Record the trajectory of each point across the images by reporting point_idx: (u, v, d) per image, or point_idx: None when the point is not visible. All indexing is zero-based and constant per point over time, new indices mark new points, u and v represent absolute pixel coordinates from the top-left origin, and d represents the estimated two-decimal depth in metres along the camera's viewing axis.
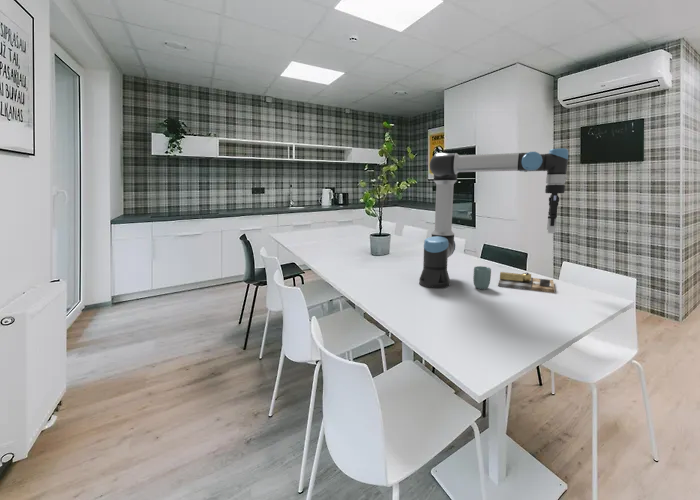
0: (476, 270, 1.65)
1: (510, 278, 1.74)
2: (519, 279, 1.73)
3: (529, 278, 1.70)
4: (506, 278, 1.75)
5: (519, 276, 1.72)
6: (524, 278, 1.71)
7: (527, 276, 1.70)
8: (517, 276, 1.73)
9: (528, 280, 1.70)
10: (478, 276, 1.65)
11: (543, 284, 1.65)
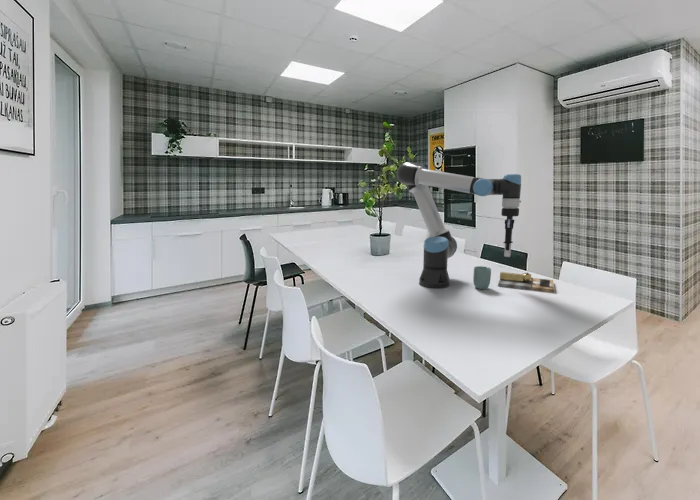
0: (476, 270, 1.65)
1: (510, 278, 1.74)
2: (519, 279, 1.73)
3: (529, 278, 1.70)
4: (506, 278, 1.75)
5: (519, 276, 1.72)
6: (524, 278, 1.71)
7: (527, 276, 1.70)
8: (517, 276, 1.73)
9: (528, 280, 1.70)
10: (478, 276, 1.65)
11: (543, 284, 1.65)
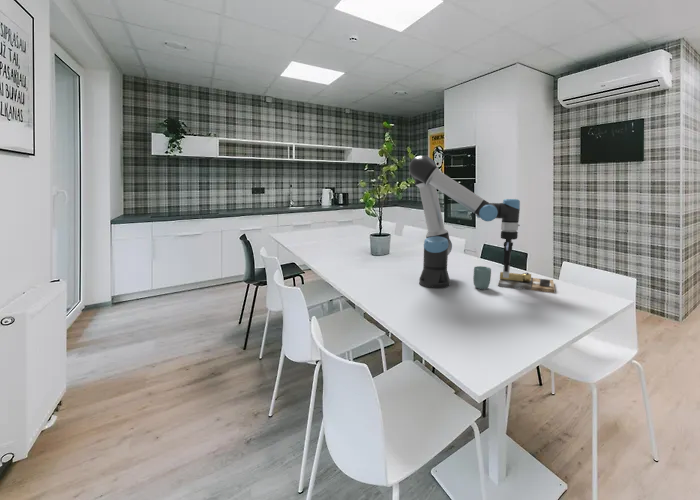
0: (476, 270, 1.65)
1: (510, 278, 1.74)
2: (519, 279, 1.73)
3: (529, 278, 1.70)
4: (506, 278, 1.75)
5: (519, 276, 1.72)
6: (524, 278, 1.71)
7: (527, 276, 1.70)
8: (517, 276, 1.73)
9: (528, 280, 1.70)
10: (478, 276, 1.65)
11: (543, 284, 1.65)
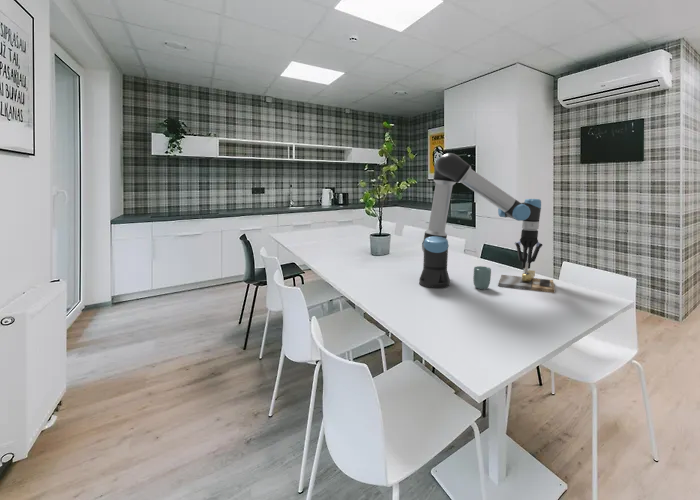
0: (476, 270, 1.65)
1: None
2: None
3: (522, 277, 1.72)
4: None
5: None
6: None
7: (522, 275, 1.73)
8: None
9: (522, 279, 1.73)
10: (478, 276, 1.65)
11: (543, 284, 1.65)
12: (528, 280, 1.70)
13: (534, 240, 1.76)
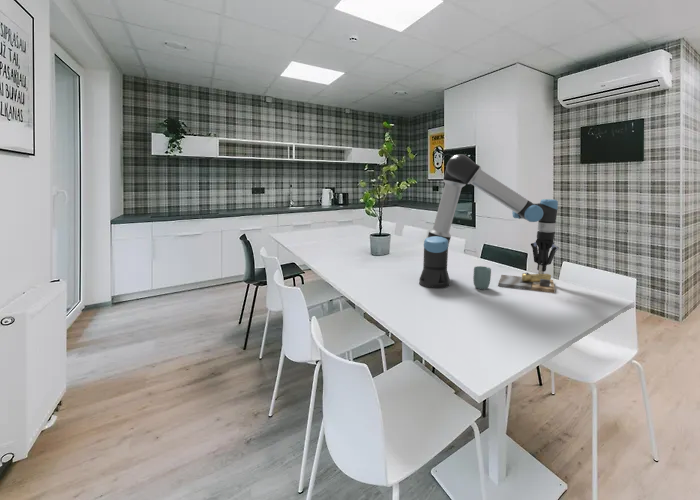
0: (476, 270, 1.65)
1: None
2: None
3: None
4: None
5: None
6: None
7: None
8: None
9: None
10: (478, 276, 1.65)
11: (543, 284, 1.65)
12: (525, 280, 1.71)
13: (548, 242, 1.70)
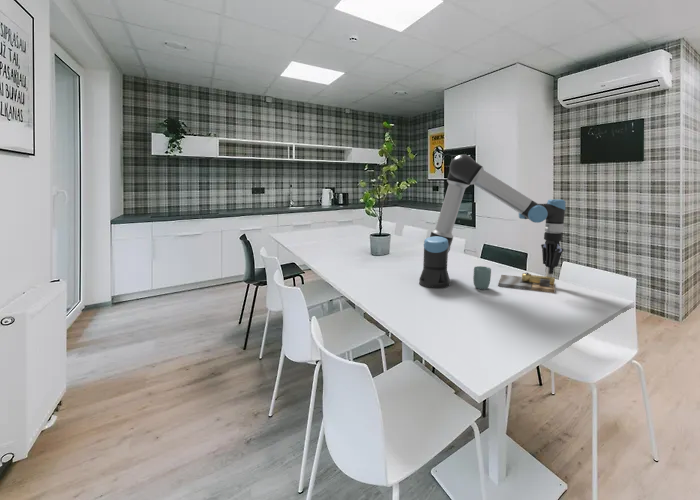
0: (476, 270, 1.65)
1: None
2: None
3: None
4: None
5: None
6: None
7: None
8: None
9: None
10: (478, 276, 1.65)
11: (543, 284, 1.65)
12: (522, 279, 1.72)
13: (553, 244, 1.65)
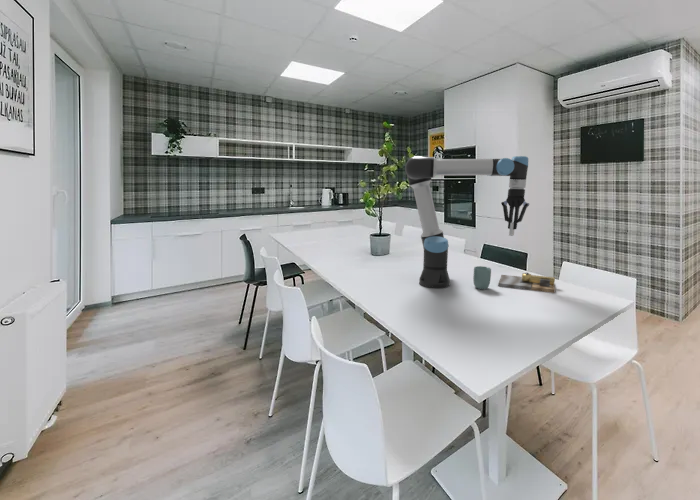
0: (476, 270, 1.65)
1: None
2: None
3: None
4: None
5: None
6: None
7: None
8: None
9: None
10: (478, 276, 1.65)
11: (543, 284, 1.65)
12: (522, 279, 1.72)
13: (519, 199, 1.71)
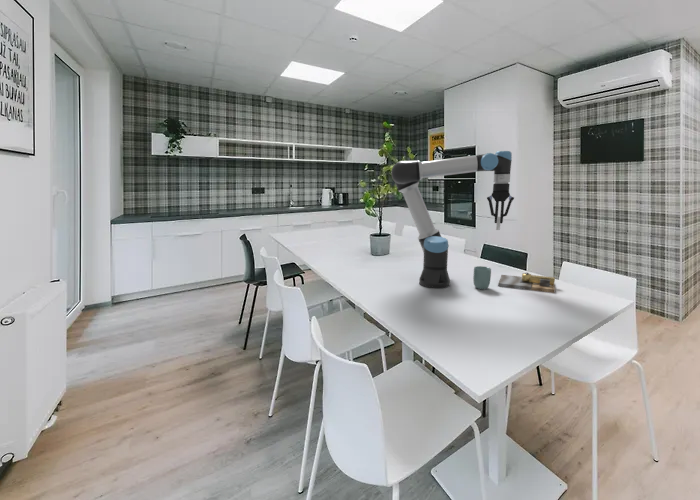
0: (476, 270, 1.65)
1: None
2: None
3: None
4: None
5: None
6: None
7: None
8: None
9: None
10: (478, 276, 1.65)
11: (543, 284, 1.65)
12: (522, 279, 1.72)
13: (505, 193, 1.74)
